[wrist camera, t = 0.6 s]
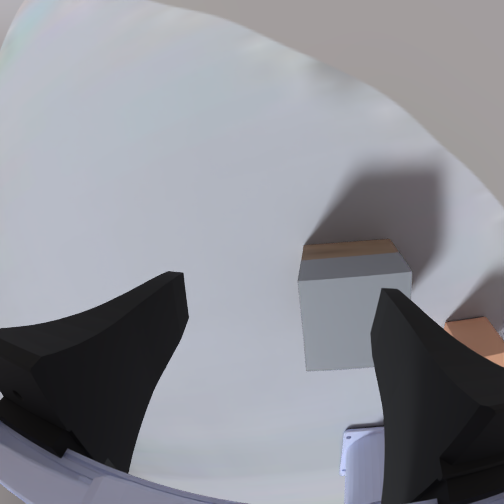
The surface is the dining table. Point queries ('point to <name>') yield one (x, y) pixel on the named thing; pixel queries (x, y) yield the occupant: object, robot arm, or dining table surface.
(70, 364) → the robot arm
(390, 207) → the dining table surface
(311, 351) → the slate slab
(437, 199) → the dining table surface
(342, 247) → the walnut slab
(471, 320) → the tan clay cube
